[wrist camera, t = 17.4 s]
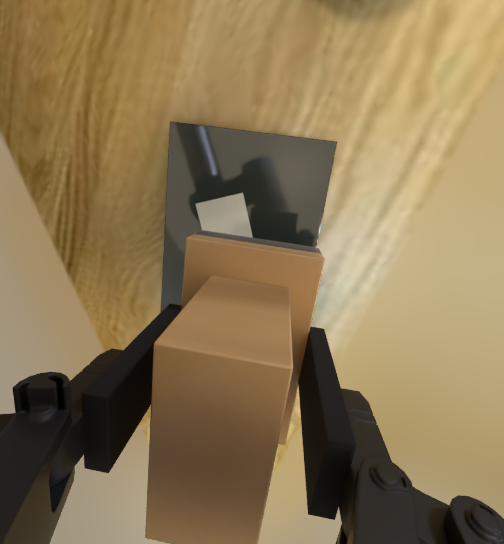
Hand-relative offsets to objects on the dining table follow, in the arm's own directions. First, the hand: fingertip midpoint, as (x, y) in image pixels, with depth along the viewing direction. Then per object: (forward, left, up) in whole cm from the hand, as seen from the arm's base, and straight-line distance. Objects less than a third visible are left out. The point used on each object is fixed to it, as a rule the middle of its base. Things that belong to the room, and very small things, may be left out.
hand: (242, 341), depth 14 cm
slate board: (-2, -3, -14) cm, 15 cm away
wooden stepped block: (0, 0, -2) cm, 2 cm away
